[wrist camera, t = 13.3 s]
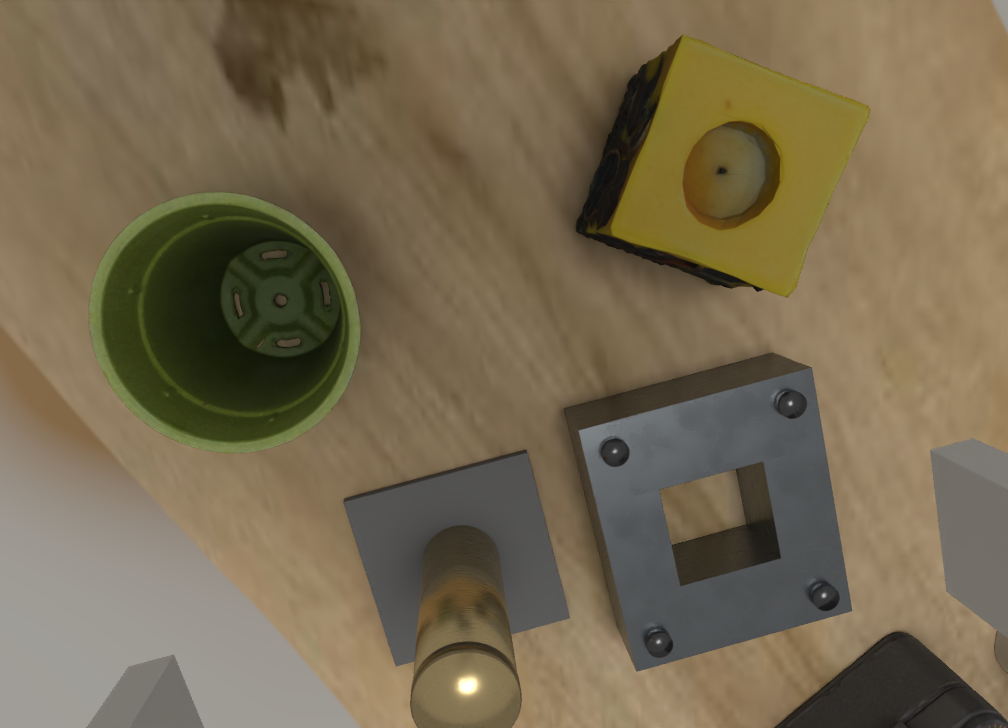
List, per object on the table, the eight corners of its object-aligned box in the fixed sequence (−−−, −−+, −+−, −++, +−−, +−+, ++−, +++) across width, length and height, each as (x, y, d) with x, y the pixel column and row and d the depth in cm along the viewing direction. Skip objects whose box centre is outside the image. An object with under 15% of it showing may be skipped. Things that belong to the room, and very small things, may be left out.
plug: (412, 536, 46) (397, 669, 32) (489, 515, 46) (506, 640, 32) (433, 606, 47) (427, 764, 33) (508, 585, 47) (533, 735, 33)
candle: (782, 131, 44) (880, 103, 34) (720, 287, 45) (797, 304, 35) (629, 69, 42) (685, 22, 32) (570, 233, 44) (607, 235, 34)
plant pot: (138, 274, 42) (28, 291, 31) (303, 161, 41) (252, 137, 30) (262, 433, 44) (201, 502, 33) (420, 328, 44) (411, 362, 33)
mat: (344, 498, 45) (343, 502, 45) (526, 449, 46) (527, 452, 45) (396, 660, 48) (396, 666, 47) (568, 613, 48) (569, 618, 48)
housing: (564, 408, 46) (580, 433, 40) (772, 352, 46) (817, 369, 41) (617, 627, 49) (639, 677, 43) (811, 572, 49) (857, 616, 44)
